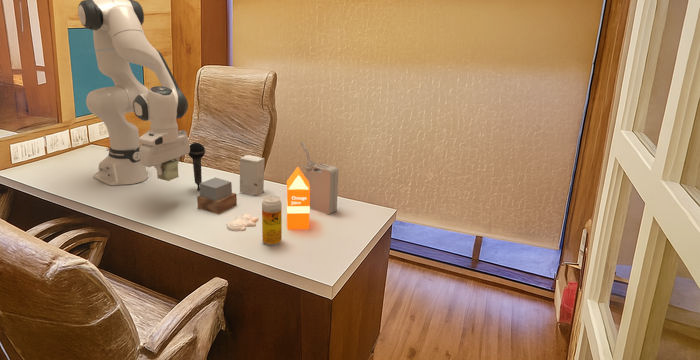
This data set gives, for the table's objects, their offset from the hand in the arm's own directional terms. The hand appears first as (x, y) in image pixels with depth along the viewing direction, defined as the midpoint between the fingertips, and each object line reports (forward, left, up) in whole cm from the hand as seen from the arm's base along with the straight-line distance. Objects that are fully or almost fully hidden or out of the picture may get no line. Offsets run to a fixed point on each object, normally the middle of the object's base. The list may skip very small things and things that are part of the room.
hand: (167, 172), depth 170 cm
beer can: (+46, -3, -14) cm, 49 cm away
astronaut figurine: (+30, +3, -15) cm, 34 cm away
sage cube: (0, 0, -2) cm, 2 cm away
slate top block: (+13, +10, -10) cm, 19 cm away
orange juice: (+46, +13, -15) cm, 50 cm away
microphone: (-4, +19, -14) cm, 24 cm away
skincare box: (+15, +29, -15) cm, 36 cm away
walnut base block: (+13, +10, -15) cm, 22 cm away
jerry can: (+45, +29, -15) cm, 56 cm away
